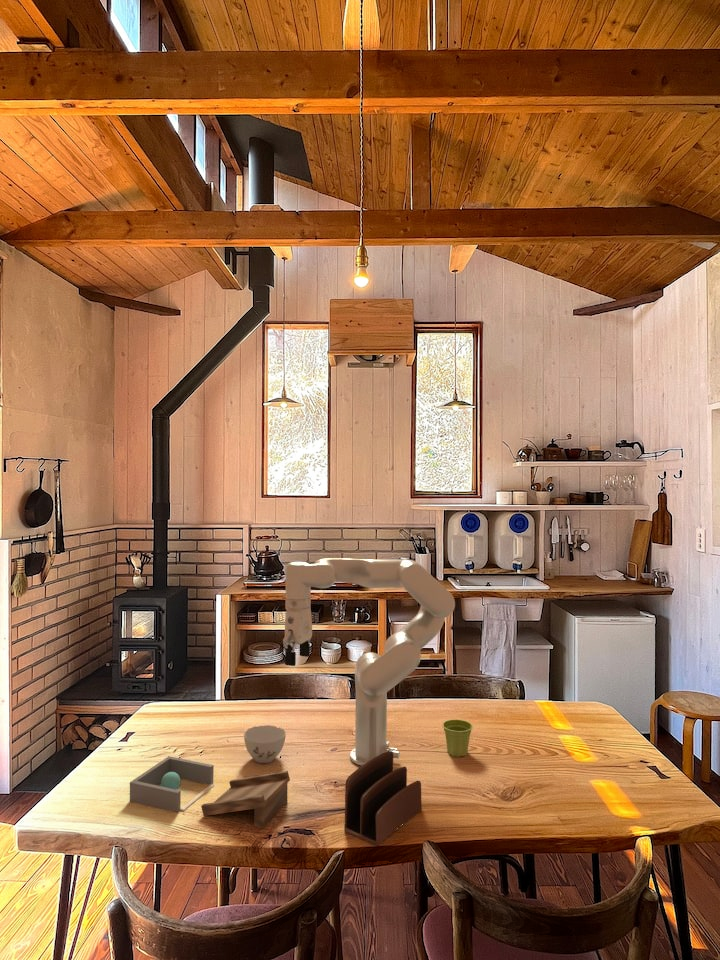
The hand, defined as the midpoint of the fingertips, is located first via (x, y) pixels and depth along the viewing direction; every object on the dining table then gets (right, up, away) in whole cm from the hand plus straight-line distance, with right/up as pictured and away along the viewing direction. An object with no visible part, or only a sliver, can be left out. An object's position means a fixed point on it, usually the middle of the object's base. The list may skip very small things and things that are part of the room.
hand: (297, 660), depth 183 cm
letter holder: (+25, -31, -31) cm, 50 cm away
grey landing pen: (-31, -30, -18) cm, 47 cm away
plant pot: (+49, -31, +7) cm, 58 cm away
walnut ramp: (-10, -30, -26) cm, 41 cm away
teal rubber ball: (-32, -30, -18) cm, 47 cm away
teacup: (-10, -31, +3) cm, 32 cm away
